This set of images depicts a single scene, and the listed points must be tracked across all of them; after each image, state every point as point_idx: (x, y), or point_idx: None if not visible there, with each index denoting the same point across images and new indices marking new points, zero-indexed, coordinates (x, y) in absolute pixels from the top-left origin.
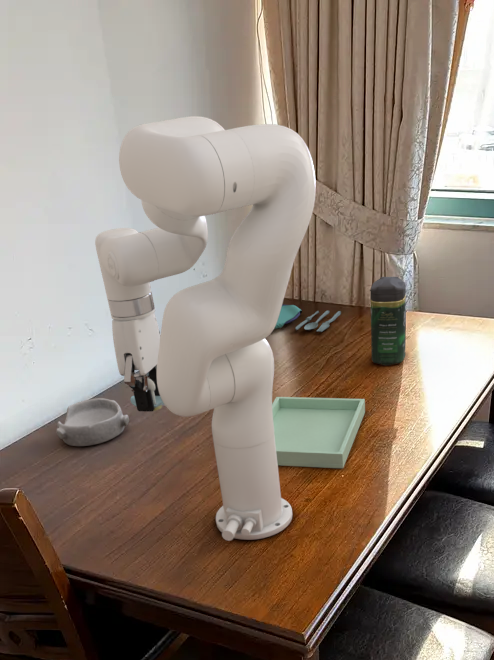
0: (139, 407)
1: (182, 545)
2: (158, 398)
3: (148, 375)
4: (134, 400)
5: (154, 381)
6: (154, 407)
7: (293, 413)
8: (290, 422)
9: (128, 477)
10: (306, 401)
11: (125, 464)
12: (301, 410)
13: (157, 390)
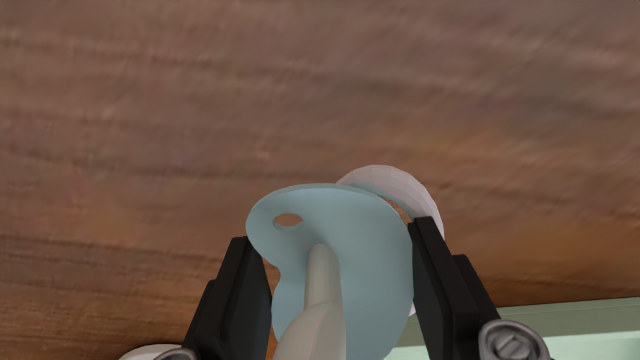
0: (210, 280)
1: (49, 323)
2: (389, 281)
3: (478, 350)
4: (296, 202)
5: (437, 353)
6: (273, 313)
7: (622, 343)
8: (567, 350)
9: (213, 76)
10: None
11: (284, 12)
12: (638, 352)
13: (421, 303)
